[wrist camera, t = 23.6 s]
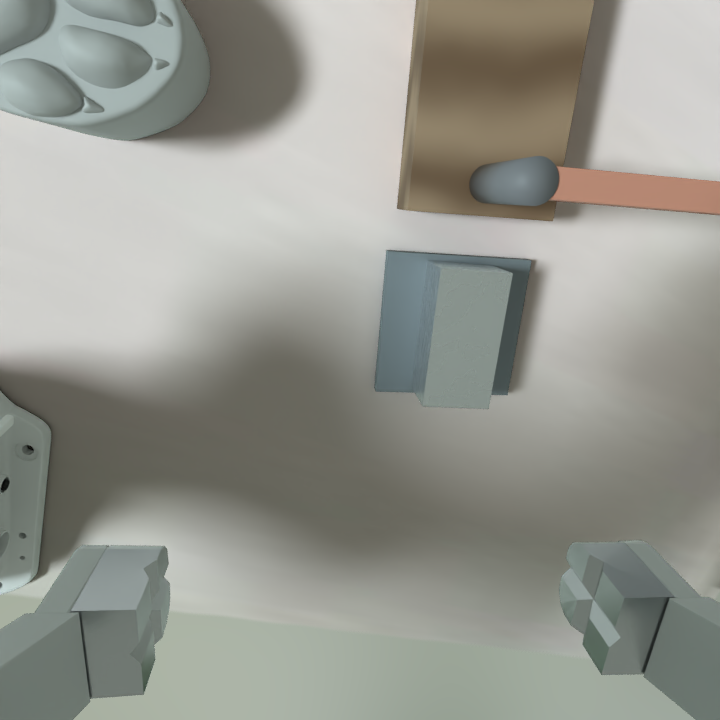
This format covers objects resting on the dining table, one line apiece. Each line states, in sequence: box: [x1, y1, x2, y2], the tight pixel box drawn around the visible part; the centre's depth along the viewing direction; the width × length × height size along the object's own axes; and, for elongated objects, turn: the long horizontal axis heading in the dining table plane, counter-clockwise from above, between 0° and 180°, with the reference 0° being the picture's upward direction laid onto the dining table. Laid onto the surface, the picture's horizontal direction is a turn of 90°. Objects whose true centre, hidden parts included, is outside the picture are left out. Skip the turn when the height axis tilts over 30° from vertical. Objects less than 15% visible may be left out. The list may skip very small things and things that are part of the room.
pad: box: [374, 250, 531, 395], centre depth 39 cm, size 11×11×1 cm
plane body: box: [397, 0, 594, 221], centre depth 32 cm, size 17×10×4 cm, turn 176°
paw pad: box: [0, 0, 210, 140], centre depth 27 cm, size 10×13×9 cm
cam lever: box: [469, 156, 720, 215], centre depth 29 cm, size 15×2×7 cm, turn 86°
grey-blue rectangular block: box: [412, 260, 513, 409], centre depth 37 cm, size 10×5×4 cm, turn 175°
